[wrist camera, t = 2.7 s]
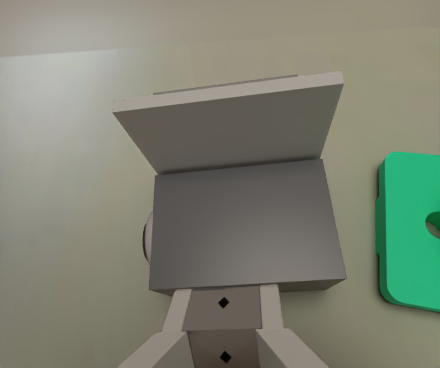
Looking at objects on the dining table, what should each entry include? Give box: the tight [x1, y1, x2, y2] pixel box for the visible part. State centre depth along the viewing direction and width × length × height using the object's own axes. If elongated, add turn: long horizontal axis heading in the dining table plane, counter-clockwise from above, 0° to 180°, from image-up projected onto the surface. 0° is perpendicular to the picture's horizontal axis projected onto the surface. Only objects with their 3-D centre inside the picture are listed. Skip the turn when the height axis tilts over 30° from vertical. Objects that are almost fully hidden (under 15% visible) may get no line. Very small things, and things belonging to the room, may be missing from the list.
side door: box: [112, 71, 344, 175], centre depth 22 cm, size 12×2×13 cm, turn 92°
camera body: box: [143, 159, 347, 296], centre depth 23 cm, size 13×8×7 cm, turn 92°
